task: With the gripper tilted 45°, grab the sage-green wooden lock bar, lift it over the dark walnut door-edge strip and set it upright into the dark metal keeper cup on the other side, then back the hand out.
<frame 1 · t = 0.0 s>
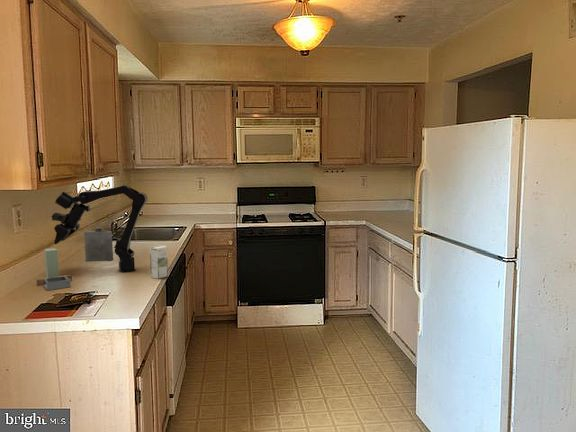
hand: (58, 242, 229), 15 cm above the worktop, tool tilted 35°, fingers open, 9 cm apart
door edge: (54, 282, 213), on the worktop
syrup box: (159, 277, 222), on the worktop
flask: (99, 260, 258), on the worktop
keeper: (57, 286, 207), on the worktop
lock bar: (52, 279, 218), on the worktop
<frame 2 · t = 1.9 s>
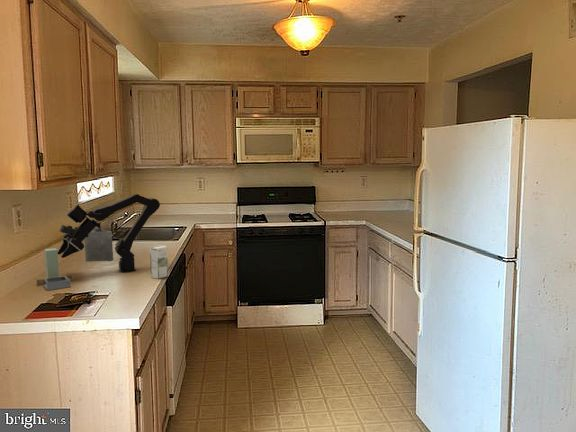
hand: (59, 255, 218), 11 cm above the worktop, tool tilted 45°, fingers open, 9 cm apart
nothing on the worktop moved.
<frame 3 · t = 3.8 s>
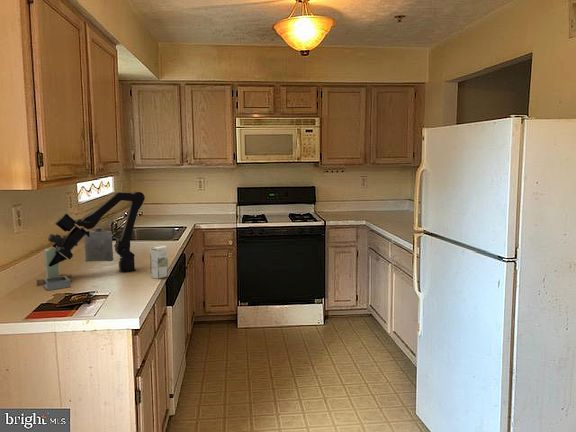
hand: (48, 265, 216), 7 cm above the worktop, tool tilted 45°, fingers closed on lock bar, 4 cm apart
lock bar: (52, 279, 218), on the worktop, touching gripper
everything else where it was.
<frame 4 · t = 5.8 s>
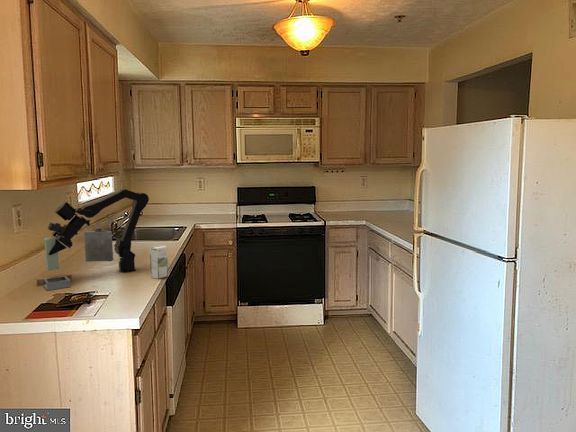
hand: (48, 253, 214), 12 cm above the worktop, tool tilted 45°, fingers closed on lock bar, 4 cm apart
lock bar: (52, 269, 215), point 5 cm above the worktop, touching gripper
everything else where it was.
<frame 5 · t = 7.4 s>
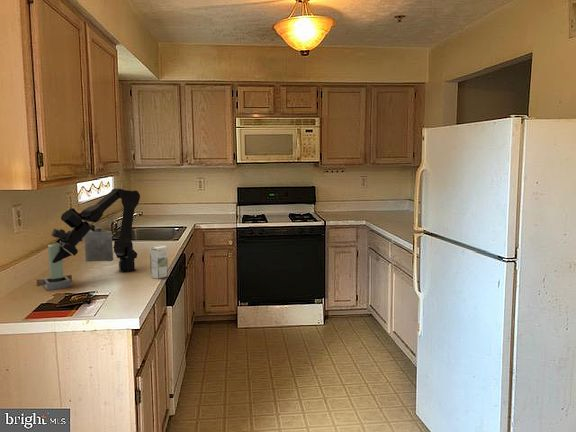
hand: (52, 261, 205), 11 cm above the worktop, tool tilted 45°, fingers closed on lock bar, 4 cm apart
lock bar: (56, 277, 206), point 4 cm above the worktop, touching gripper
everything else where it was.
when the fingers open (9 cm above the worktop, at t = 8.2 s): lock bar drops 1 cm, resting in keeper.
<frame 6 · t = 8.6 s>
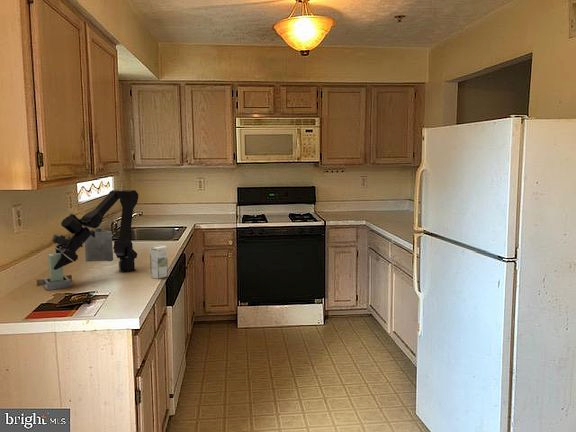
hand: (52, 267, 205), 9 cm above the worktop, tool tilted 45°, fingers open, 8 cm apart
lock bar: (57, 286, 207), resting in keeper
everything else where it was.
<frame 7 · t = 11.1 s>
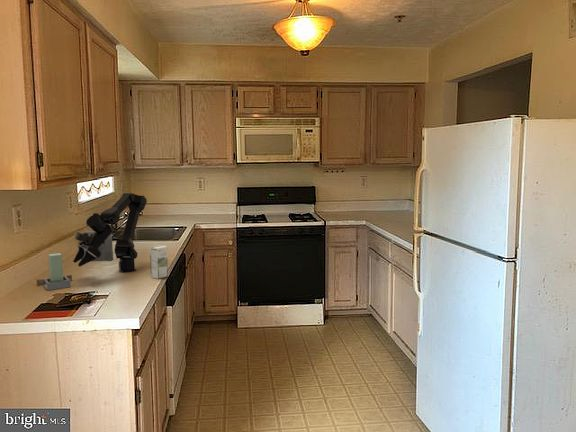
hand: (76, 264, 210), 9 cm above the worktop, tool tilted 45°, fingers open, 9 cm apart
nothing on the worktop moved.
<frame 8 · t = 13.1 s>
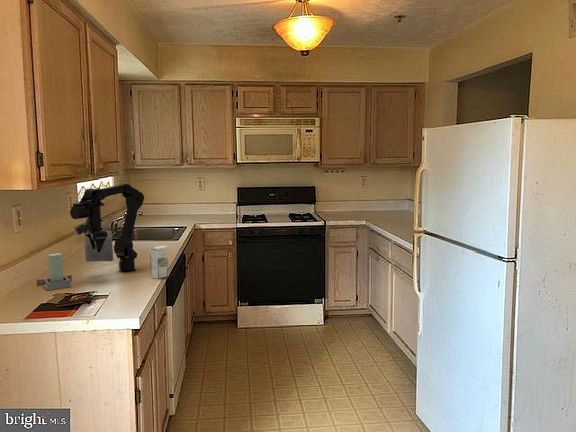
hand: (96, 250, 218), 13 cm above the worktop, tool pointing down, fingers open, 9 cm apart
nothing on the worktop moved.
at the end: lock bar 0.0 cm off-centre on the keeper, point 0.0 cm above the keeper's base; lock bar tilted 0°; the gripper is holding nothing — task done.
